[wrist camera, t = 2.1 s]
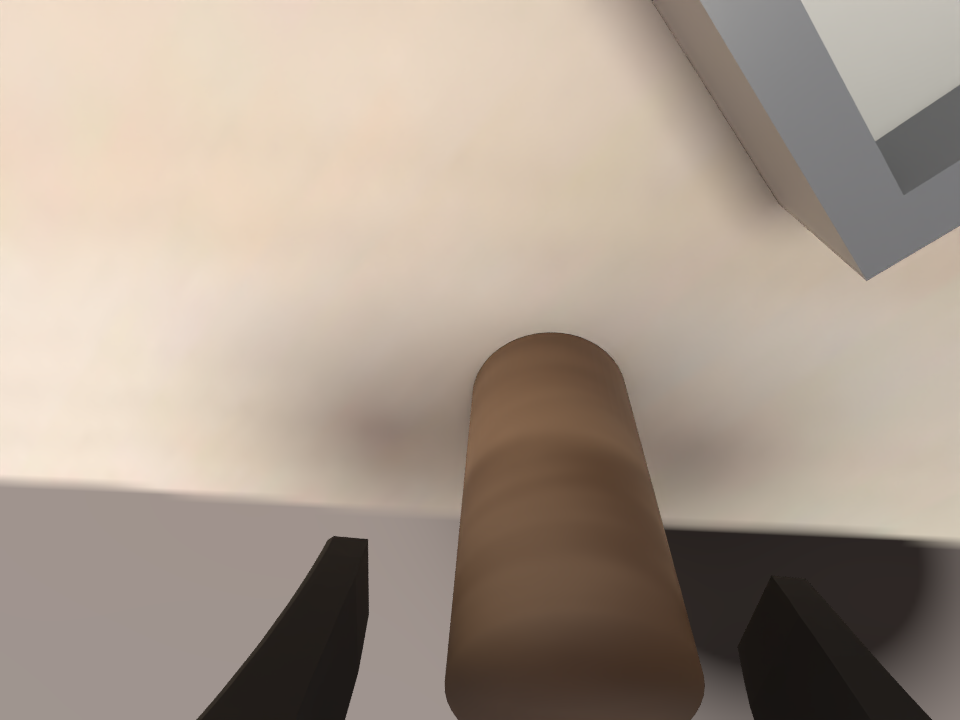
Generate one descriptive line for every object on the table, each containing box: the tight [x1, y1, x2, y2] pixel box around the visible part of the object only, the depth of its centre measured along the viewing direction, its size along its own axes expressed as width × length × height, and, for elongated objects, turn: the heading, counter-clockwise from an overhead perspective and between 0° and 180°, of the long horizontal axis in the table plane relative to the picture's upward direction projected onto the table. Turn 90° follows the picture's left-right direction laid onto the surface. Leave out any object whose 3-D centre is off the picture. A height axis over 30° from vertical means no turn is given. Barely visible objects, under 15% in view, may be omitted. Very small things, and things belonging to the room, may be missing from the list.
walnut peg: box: [445, 333, 705, 720], centre depth 13 cm, size 4×4×8 cm
